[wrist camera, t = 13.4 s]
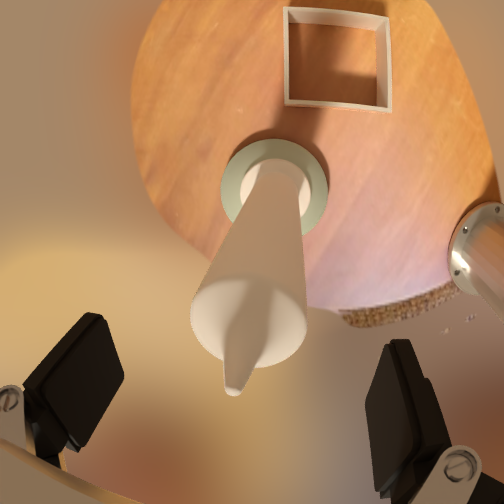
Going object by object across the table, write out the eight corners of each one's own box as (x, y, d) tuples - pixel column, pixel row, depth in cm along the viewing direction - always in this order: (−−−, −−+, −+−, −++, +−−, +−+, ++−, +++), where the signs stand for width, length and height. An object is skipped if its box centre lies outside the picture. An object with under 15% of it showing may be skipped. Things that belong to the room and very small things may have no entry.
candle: (251, 149, 30) (122, 253, 7) (319, 170, 30) (402, 333, 7) (233, 214, 32) (123, 414, 10) (298, 233, 33) (300, 462, 10)
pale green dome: (345, 171, 30) (347, 173, 29) (294, 255, 35) (294, 260, 34) (251, 120, 29) (249, 120, 28) (206, 210, 34) (204, 213, 33)
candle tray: (378, 28, 23) (388, 17, 20) (379, 113, 27) (391, 112, 24) (284, 19, 24) (283, 6, 21) (285, 106, 28) (284, 103, 25)
